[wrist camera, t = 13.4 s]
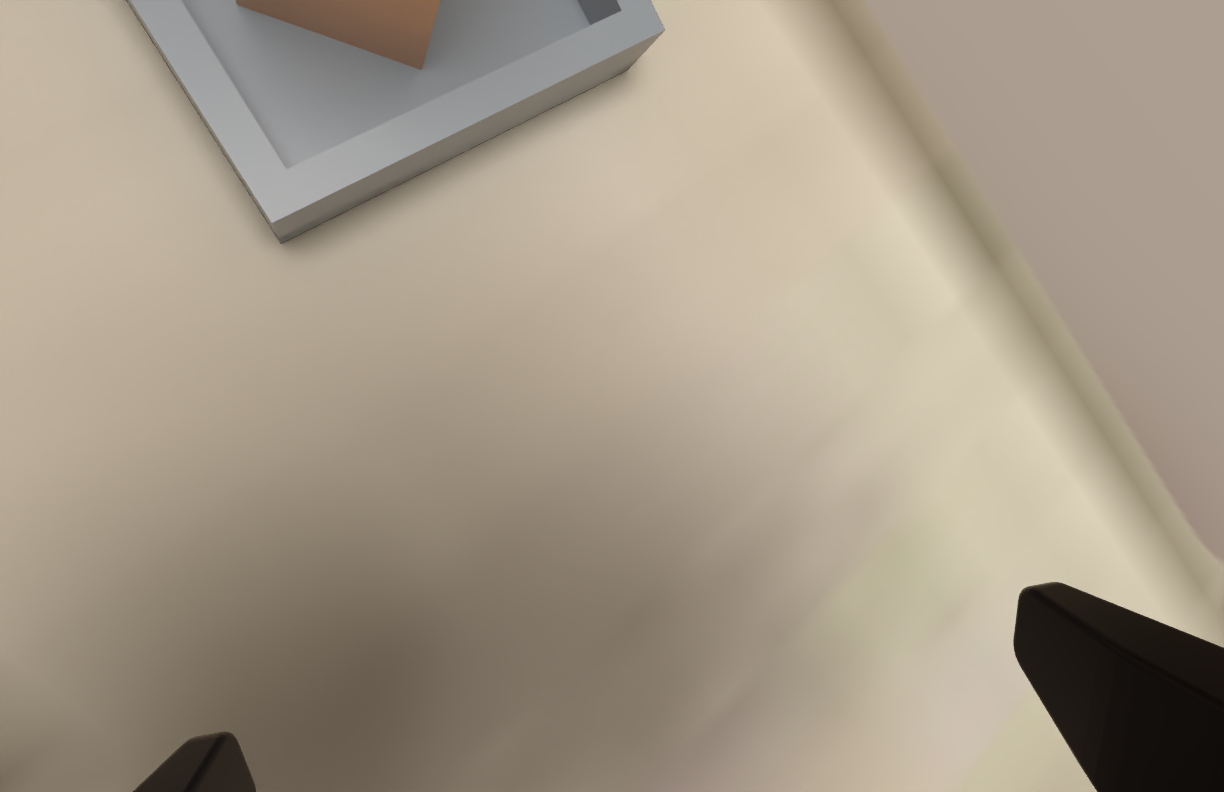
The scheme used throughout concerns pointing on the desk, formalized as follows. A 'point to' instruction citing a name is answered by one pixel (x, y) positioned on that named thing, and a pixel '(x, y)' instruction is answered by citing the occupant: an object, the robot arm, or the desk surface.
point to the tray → (380, 90)
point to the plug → (362, 23)
